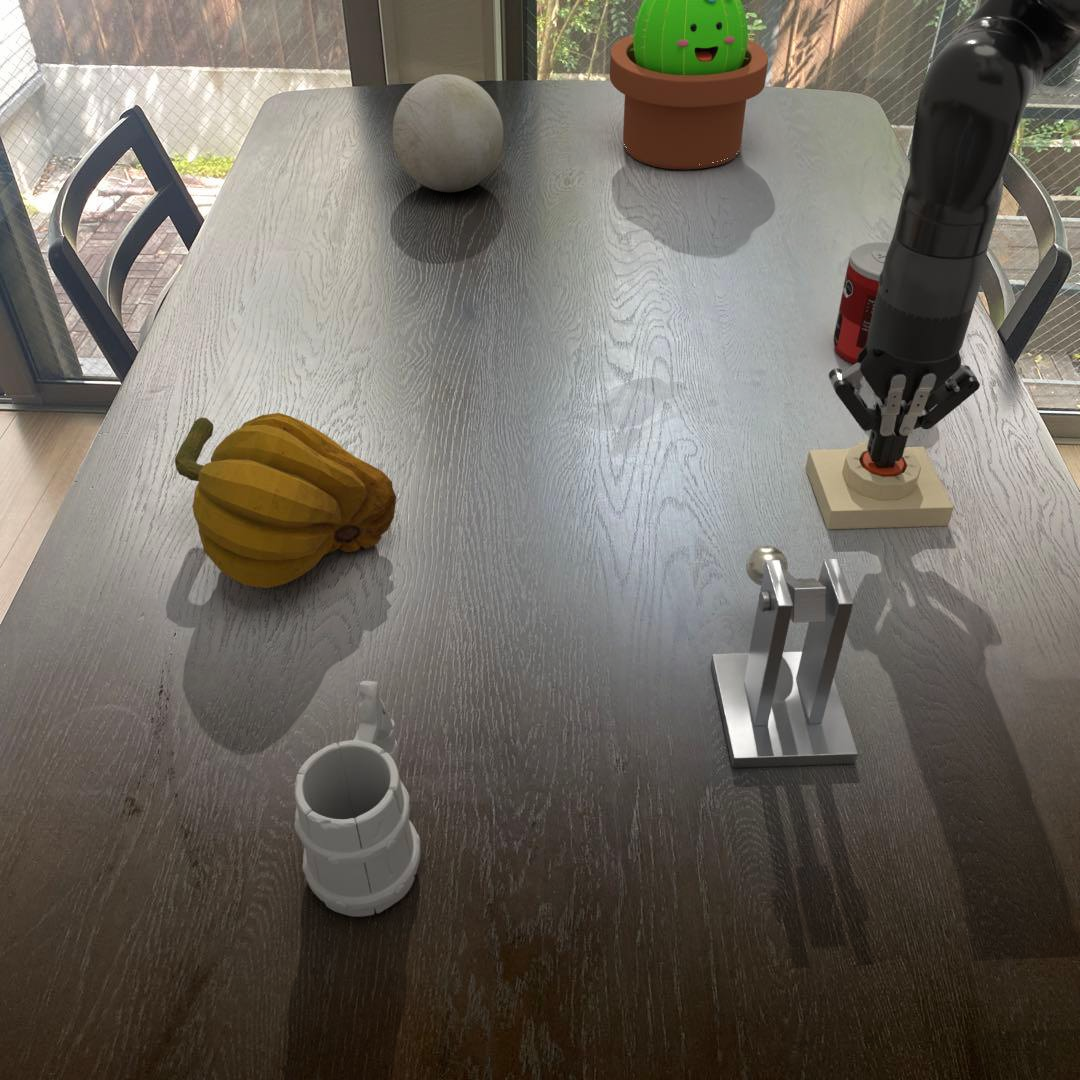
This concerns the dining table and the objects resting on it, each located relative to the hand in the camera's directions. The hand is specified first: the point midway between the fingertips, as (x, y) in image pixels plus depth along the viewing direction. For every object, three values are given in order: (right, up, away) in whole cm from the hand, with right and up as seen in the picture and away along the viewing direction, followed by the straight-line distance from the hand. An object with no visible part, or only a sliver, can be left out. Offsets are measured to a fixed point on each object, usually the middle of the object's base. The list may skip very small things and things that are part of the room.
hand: (882, 461), depth 98 cm
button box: (0, -3, +3) cm, 4 cm away
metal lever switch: (-13, -20, -16) cm, 29 cm away
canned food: (+5, +14, +22) cm, 26 cm away
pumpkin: (-54, -8, -2) cm, 54 cm away
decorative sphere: (-44, +42, +54) cm, 81 cm away
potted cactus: (-10, +51, +64) cm, 82 cm away
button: (0, -1, +1) cm, 2 cm away
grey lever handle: (-13, -12, -18) cm, 25 cm away
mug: (-43, -28, -24) cm, 56 cm away
